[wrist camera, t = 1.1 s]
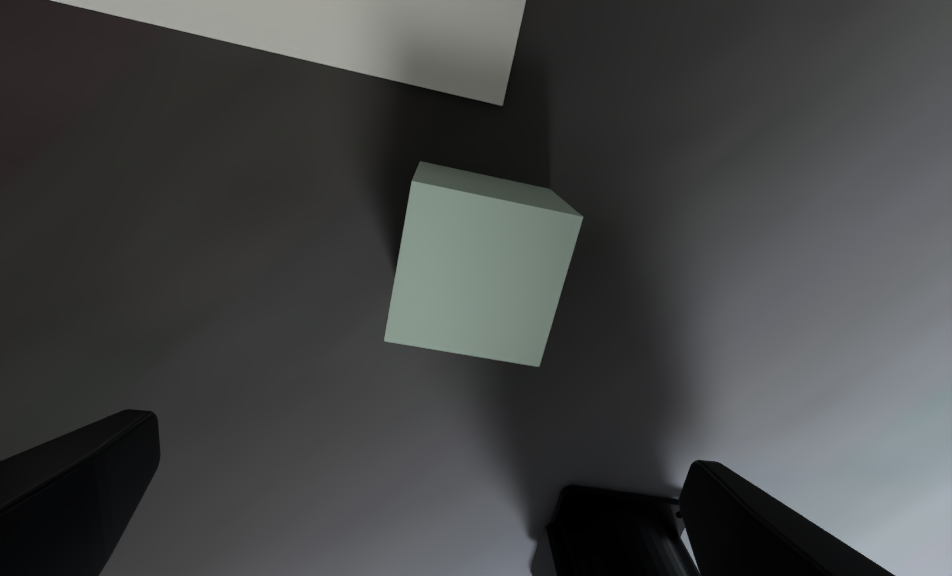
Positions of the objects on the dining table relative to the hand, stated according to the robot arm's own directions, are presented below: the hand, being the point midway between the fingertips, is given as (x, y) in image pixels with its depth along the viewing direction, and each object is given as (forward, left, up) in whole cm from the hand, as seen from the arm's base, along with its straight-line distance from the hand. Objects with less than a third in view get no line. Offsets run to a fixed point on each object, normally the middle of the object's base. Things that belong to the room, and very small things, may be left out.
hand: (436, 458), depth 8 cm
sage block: (-1, -1, -12) cm, 12 cm away
